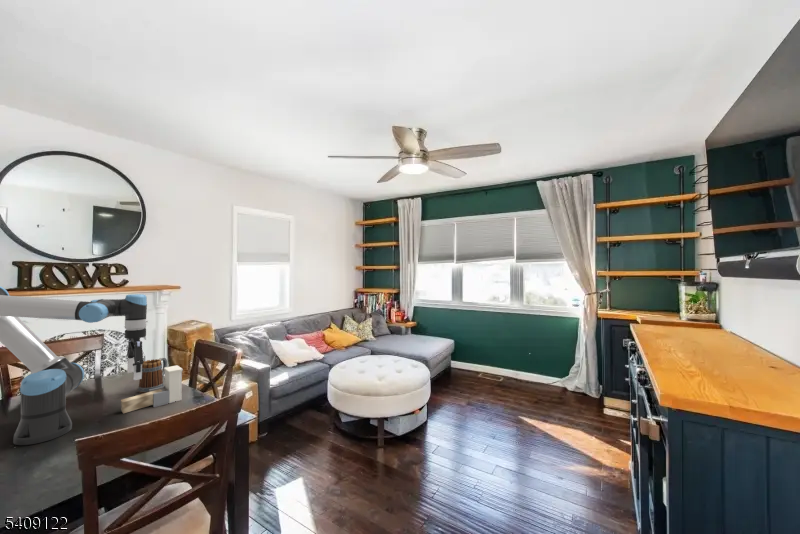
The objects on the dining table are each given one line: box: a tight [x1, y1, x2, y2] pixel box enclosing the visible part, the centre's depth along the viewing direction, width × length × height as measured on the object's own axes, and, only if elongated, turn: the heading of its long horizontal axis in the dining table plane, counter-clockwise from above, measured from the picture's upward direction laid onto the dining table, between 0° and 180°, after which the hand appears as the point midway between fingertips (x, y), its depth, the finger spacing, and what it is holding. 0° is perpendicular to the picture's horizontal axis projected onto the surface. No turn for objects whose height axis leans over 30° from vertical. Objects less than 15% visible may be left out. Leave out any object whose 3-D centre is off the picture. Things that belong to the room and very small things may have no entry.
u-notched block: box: [149, 365, 184, 408], centre depth 157 cm, size 11×9×15 cm
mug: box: [137, 357, 168, 394], centre depth 172 cm, size 16×11×15 cm
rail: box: [120, 388, 166, 414], centre depth 150 cm, size 16×4×5 cm, turn 139°
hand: (134, 375), depth 148 cm, fingers open, 13 cm apart
